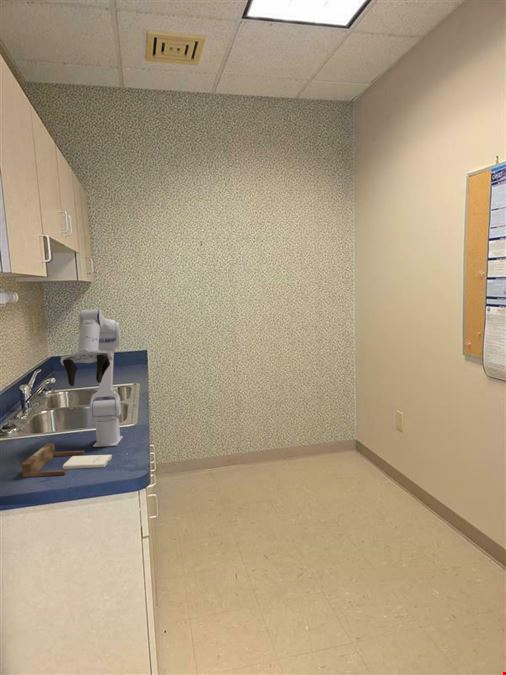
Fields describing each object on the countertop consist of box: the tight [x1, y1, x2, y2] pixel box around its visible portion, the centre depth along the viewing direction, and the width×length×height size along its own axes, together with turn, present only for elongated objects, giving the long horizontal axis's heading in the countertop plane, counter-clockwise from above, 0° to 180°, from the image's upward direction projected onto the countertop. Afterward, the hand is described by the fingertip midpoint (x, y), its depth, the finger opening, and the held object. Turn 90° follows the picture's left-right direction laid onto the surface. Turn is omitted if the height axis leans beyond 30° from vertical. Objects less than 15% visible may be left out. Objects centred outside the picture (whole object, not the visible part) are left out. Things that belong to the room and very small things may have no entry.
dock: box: [21, 442, 85, 478], centre depth 134 cm, size 17×12×4 cm
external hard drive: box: [62, 454, 113, 470], centre depth 135 cm, size 2×8×12 cm
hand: (84, 382), depth 122 cm, fingers open, 7 cm apart
